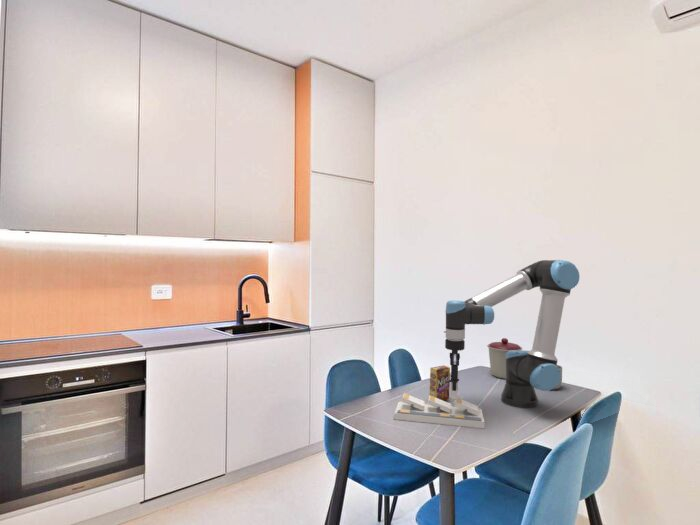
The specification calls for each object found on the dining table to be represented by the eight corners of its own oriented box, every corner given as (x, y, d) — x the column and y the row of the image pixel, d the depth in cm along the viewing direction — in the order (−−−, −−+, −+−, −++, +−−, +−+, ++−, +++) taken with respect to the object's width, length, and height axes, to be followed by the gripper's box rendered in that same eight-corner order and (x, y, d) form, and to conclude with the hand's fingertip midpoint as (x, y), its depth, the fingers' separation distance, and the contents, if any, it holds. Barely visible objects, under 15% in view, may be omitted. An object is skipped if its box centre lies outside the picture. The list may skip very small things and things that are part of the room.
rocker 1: (423, 405, 171) (425, 400, 171) (422, 411, 165) (424, 406, 164) (402, 396, 173) (404, 392, 173) (401, 402, 167) (402, 397, 166)
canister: (518, 383, 213) (518, 342, 213) (483, 377, 223) (483, 338, 223) (524, 375, 228) (525, 337, 228) (491, 370, 238) (492, 334, 238)
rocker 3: (475, 410, 167) (477, 405, 166) (476, 416, 160) (478, 411, 160) (454, 401, 168) (455, 396, 168) (454, 407, 162) (456, 402, 162)
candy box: (435, 404, 181) (436, 369, 181) (428, 401, 184) (429, 367, 184) (450, 400, 186) (450, 366, 186) (442, 397, 189) (443, 364, 189)
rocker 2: (449, 407, 169) (450, 402, 169) (449, 413, 162) (451, 408, 162) (428, 399, 171) (429, 394, 171) (427, 404, 164) (429, 399, 164)
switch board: (481, 415, 168) (481, 405, 168) (484, 428, 155) (484, 418, 155) (398, 407, 176) (398, 398, 176) (394, 419, 163) (394, 409, 163)
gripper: (445, 335, 172) (444, 391, 172) (445, 341, 160) (444, 402, 160) (463, 336, 170) (463, 393, 171) (465, 342, 158) (464, 404, 158)
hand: (453, 397), depth 165 cm, fingers closed
